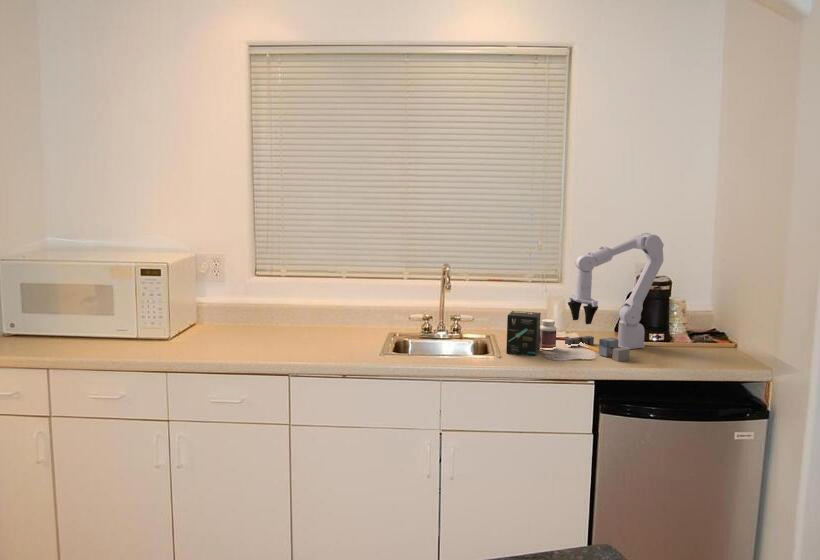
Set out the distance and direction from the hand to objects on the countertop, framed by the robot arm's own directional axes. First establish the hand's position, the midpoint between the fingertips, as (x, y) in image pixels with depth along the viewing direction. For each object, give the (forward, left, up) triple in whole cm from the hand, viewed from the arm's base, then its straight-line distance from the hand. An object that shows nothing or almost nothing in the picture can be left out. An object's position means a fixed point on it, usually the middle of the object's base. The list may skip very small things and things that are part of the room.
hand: (581, 321), depth 274 cm
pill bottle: (+15, -1, -10) cm, 18 cm away
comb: (0, -1, -9) cm, 9 cm away
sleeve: (0, +16, -9) cm, 18 cm away
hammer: (0, +11, -9) cm, 14 cm away
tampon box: (+26, -1, -10) cm, 28 cm away
